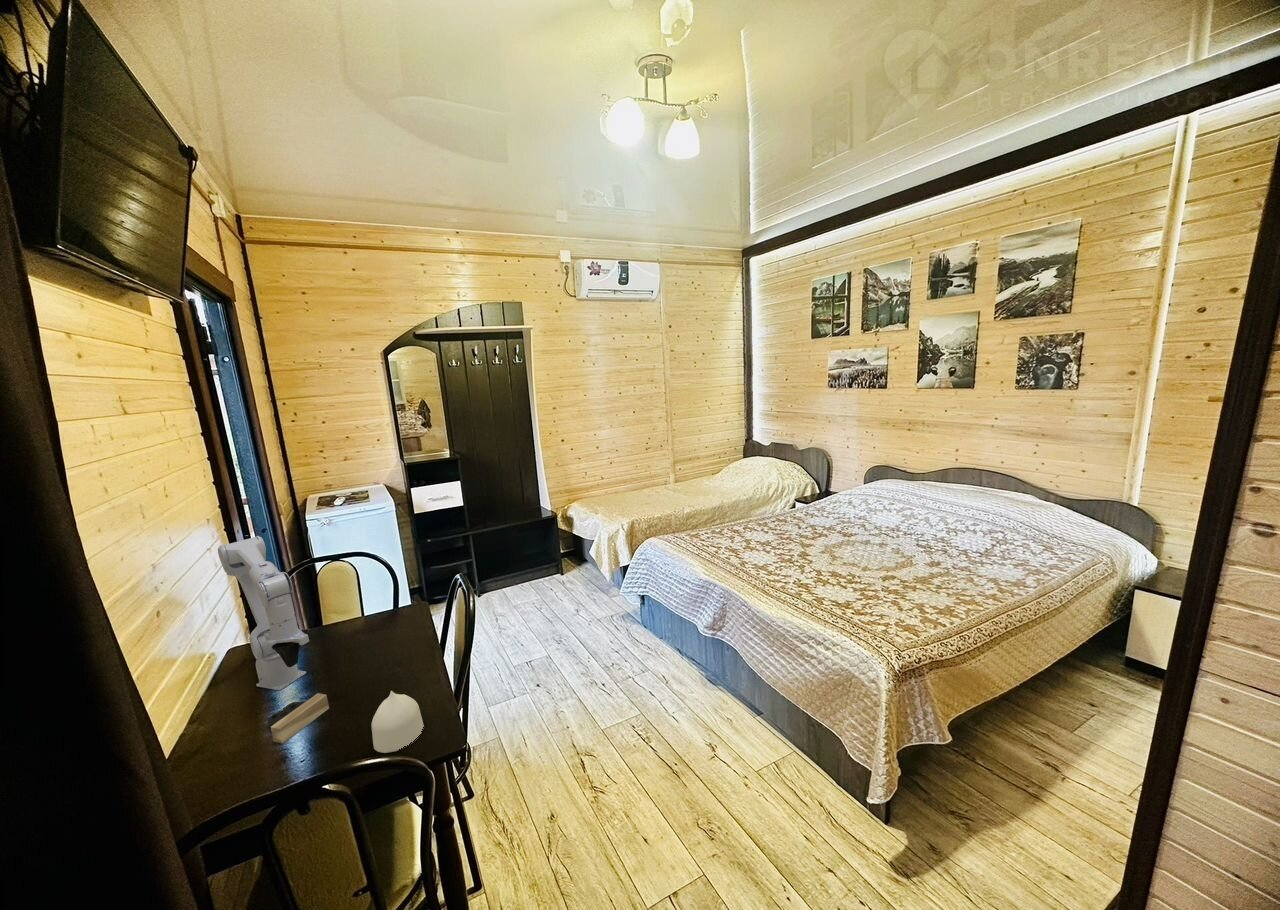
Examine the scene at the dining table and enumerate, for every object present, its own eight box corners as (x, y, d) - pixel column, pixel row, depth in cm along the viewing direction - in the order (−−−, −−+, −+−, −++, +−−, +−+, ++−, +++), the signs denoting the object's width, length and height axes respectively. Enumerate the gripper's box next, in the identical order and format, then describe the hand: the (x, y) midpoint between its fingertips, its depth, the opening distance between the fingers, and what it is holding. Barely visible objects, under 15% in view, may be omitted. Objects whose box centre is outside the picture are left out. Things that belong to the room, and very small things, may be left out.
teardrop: (376, 726, 113) (368, 683, 111) (425, 711, 117) (418, 670, 115) (369, 759, 103) (360, 713, 101) (422, 742, 107) (414, 697, 105)
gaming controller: (281, 734, 111) (265, 716, 112) (273, 744, 113) (257, 727, 114) (318, 706, 120) (303, 689, 121) (310, 716, 122) (296, 700, 123)
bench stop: (273, 741, 110) (270, 727, 109) (320, 706, 121) (317, 693, 121) (282, 743, 109) (279, 729, 108) (329, 708, 120) (326, 694, 120)
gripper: (247, 624, 121) (258, 670, 123) (285, 629, 116) (296, 677, 119) (275, 611, 128) (285, 655, 130) (312, 615, 123) (322, 661, 125)
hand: (292, 664), depth 125 cm, fingers closed
